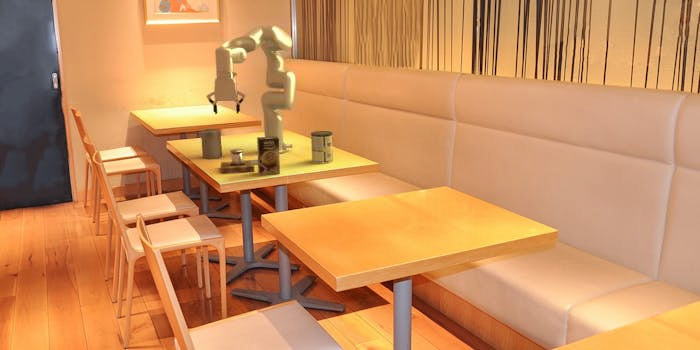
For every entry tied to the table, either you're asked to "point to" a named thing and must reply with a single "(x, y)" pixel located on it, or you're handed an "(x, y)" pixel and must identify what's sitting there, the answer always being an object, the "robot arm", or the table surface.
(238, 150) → the end cap
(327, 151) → the coffee can
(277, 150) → the coffee box
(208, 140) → the pillar candle
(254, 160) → the rubber mat
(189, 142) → the table surface
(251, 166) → the brown wooden square frame
